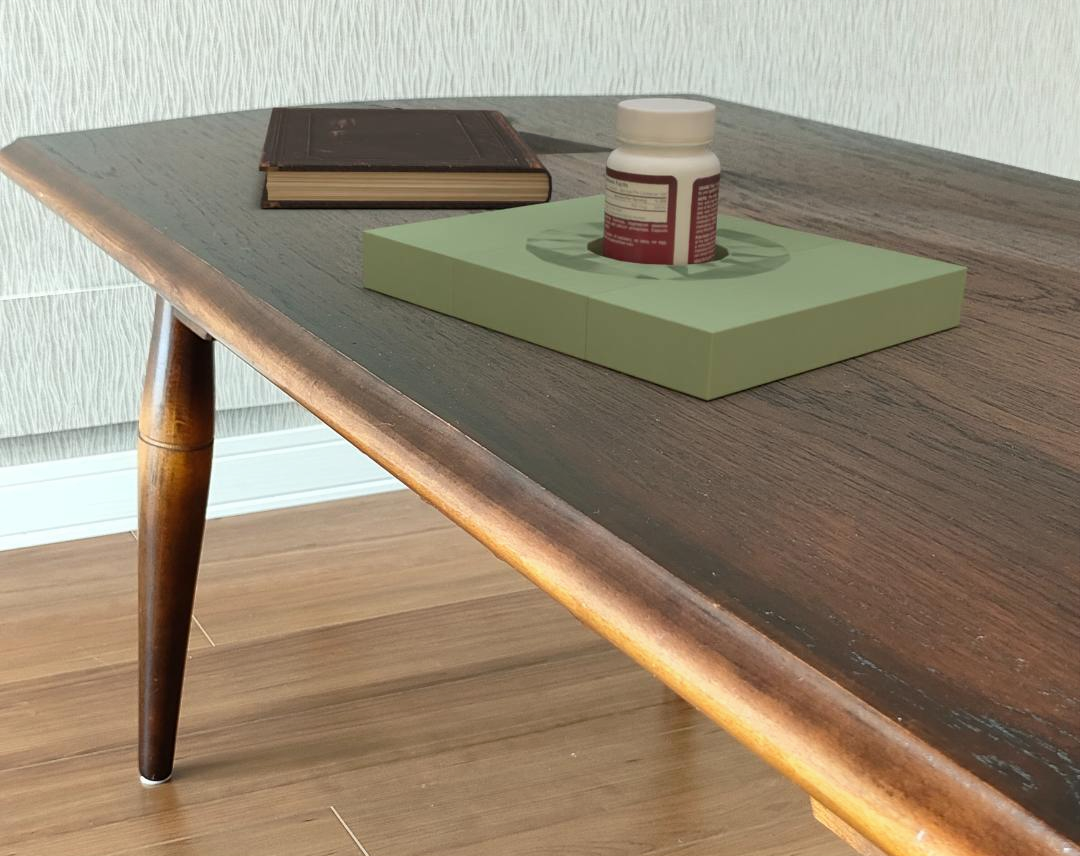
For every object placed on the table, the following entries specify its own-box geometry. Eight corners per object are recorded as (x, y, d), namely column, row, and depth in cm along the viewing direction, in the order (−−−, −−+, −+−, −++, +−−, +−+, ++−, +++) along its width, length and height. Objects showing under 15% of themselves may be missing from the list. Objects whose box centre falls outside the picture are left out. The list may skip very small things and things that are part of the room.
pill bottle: (680, 289, 65) (694, 95, 61) (730, 316, 61) (747, 110, 57) (582, 296, 63) (590, 97, 60) (626, 324, 59) (637, 112, 56)
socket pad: (959, 326, 60) (968, 267, 59) (707, 401, 50) (712, 331, 49) (617, 241, 74) (619, 191, 73) (363, 287, 64) (362, 230, 63)
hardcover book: (260, 208, 79) (258, 165, 78) (274, 142, 99) (272, 107, 99) (551, 208, 81) (553, 166, 80) (505, 144, 102) (505, 110, 101)
